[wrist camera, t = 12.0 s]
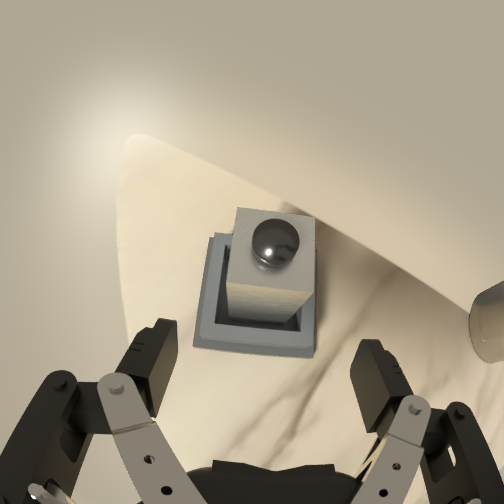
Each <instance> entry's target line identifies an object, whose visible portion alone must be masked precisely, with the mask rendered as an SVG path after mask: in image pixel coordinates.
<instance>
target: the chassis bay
mask: <svg viewBox="0 0 504 504" xmlns="http://www.w3.org/2000/svg"><path fill="white" fill-rule="evenodd" d="M232 239H233V234H224V233H215V235H214V238H212V237H210V238H209V244H208V249H207V255H206V261H205V267H204V273H203V279H202V286H201V292H200V298H199V305H198V312H197V319H196V326H195V333H194V340H193V347H194V348H201V349H208V350H216V351H224V352H232V353H242V354H251V355H262V356H274V357H289V358H306V359H311V358H313V354H314V336H315V314H316V277H317V249H316V244H315V267H314V292H313V294H312V295H311V296H310V297H309V298H308V299H307V300H306V301H305V302H304V304H303V305H302V306H301V307H300V308H299V309H298V310H297V311H296V312H295V313H294V314H293V316H292V317H291V318H290V319H289V320H288V321H287V322H286V323H285V324H284V325H283V326H281V325H271V324H262V323H253V322H244V321H236V320H229V311H228V299H227V288H226V279H227V272H228V265H229V259H230V252H231V245H232Z"/></svg>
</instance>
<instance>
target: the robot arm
mask: <svg viewBox="0 0 504 504" xmlns="http://www.w3.org/2000/svg"><path fill="white" fill-rule="evenodd" d="M469 328H470V336H471V340H472V344H473V346H474V349H475V351H476V352H477V354H478V356H479V357H480V358H481V359H482V360H483V361H485V362H487V363H495V362H499V361H504V281H502V282H500V283H499V284H497V285H495V286H493V287H491V288H489V289H487V290H485V291H483V292H481V293H480V294H479V295H478V296H477V297H476V298H475V300H474V302H473V304H472V308H471V311H470V319H469ZM177 354H178V339H177V322H176V321H175V320H169V319H163V318H158V320H157V322H156V323H155V325H154V327H153V328H148V327H145V328H144V329H143V330H141V331H140V332H138V333H137V335H136V336H135V338H134V340H133V342H132V343H131V345H130V346H129V349H128V350H127V352H126V353H125V355H124V357H123V359H122V360H121V362H120V364H119V366H118V367H117V369H116V371H115V372H114V373H110V374H107V375H105V376H103V377H102V378H101V379H100V380H99V382H77V379H76V377H75V376H74V375H73V374H72V373H71V372H68V371H65V370H59V371H54V372H52V373H50V374H49V375H48V376H47V377H46V378H45V380H44V381H43V383H42V384H41V386H40V387H39V389H38V391H37V392H36V394H35V395H34V397H33V399H32V400H31V402H30V403H29V405H28V407H27V408H26V410H25V412H24V414H23V415H22V417H21V419H20V421H19V422H18V424H17V426H16V427H15V429H14V431H13V433H12V435H11V436H10V438H9V440H8V442H7V444H6V446H5V448H4V450H3V452H2V454H1V455H0V504H76V503H75V502H74V501H73V500H72V499H71V495H72V492H73V489H74V486H75V483H76V480H77V478H78V475H79V472H80V469H81V466H82V463H83V461H84V458H85V455H86V453H87V450H88V447H89V445H90V442H91V440H92V437H93V435H94V434H112V435H113V438H114V441H115V443H116V446H117V448H118V451H119V453H120V455H121V458H122V460H123V462H124V465H125V467H126V469H127V471H128V473H129V475H130V478H131V480H132V482H133V484H134V486H135V487H136V489H137V491H138V494H139V496H140V497H141V499H142V501H141V502H139V503H137V504H403V501H404V499H405V497H406V495H407V493H408V490H409V488H410V486H411V484H412V481H413V479H414V476H415V474H416V471H417V469H418V466H419V463H420V467H421V471H422V474H423V478H424V482H425V486H426V490H427V494H428V498H429V502H430V504H504V484H503V481H502V479H501V476H500V473H499V470H498V468H497V465H496V463H495V461H494V458H493V456H492V453H491V451H490V449H489V447H488V444H487V442H486V440H485V438H484V436H483V433H482V431H481V429H480V427H479V425H478V423H477V421H476V419H475V417H474V415H473V413H472V411H471V409H470V408H469V407H468V406H467V405H466V404H464V403H462V402H452V403H450V404H449V406H448V407H447V408H446V410H442V409H434V408H431V407H430V405H429V403H428V402H427V401H426V400H425V399H424V398H422V397H420V396H416V395H414V394H413V392H412V390H411V388H410V386H409V384H408V382H407V379H406V377H405V375H404V374H403V372H402V370H401V368H400V367H399V364H398V362H397V360H396V358H395V357H394V356H393V355H392V354H391V353H390V352H389V351H388V350H384V348H383V346H382V344H381V342H380V341H379V340H378V339H362V340H361V342H360V344H359V347H358V349H357V352H356V354H355V357H354V359H353V362H352V364H351V368H350V378H351V381H352V384H353V387H354V391H355V394H356V397H357V400H358V404H359V407H360V411H361V414H362V417H363V421H364V424H365V428H366V431H367V433H373V432H377V435H378V436H377V438H376V439H375V441H374V443H373V444H372V446H371V448H370V450H369V452H368V453H367V455H366V457H365V459H364V460H363V462H362V464H361V465H360V467H359V469H358V470H357V471H356V473H355V474H354V476H353V477H352V476H350V475H347V474H344V473H340V472H336V471H335V467H334V464H325V465H305V466H300V467H296V468H291V469H287V470H282V471H271V470H267V469H263V468H259V467H255V466H252V465H248V464H245V463H236V462H227V461H219V460H213V464H212V467H205V468H199V469H195V470H192V471H189V472H185V470H184V469H183V467H182V466H181V464H180V463H179V461H178V459H177V458H176V456H175V454H174V453H173V451H172V449H171V448H170V446H169V444H168V442H167V441H166V439H165V437H164V435H163V434H162V432H161V430H160V428H159V426H158V425H157V423H156V422H155V421H153V420H152V419H151V417H154V418H156V417H157V414H158V411H159V408H160V405H161V402H162V399H163V397H164V394H165V391H166V388H167V385H168V383H169V380H170V377H171V374H172V371H173V369H174V366H175V363H176V360H177ZM450 446H451V447H452V450H453V453H454V455H455V458H456V464H455V466H453V463H452V460H451V457H450V454H449V452H448V448H449V447H450Z"/></svg>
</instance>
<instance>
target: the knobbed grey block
mask: <svg viewBox="0 0 504 504" xmlns="http://www.w3.org/2000/svg"><path fill="white" fill-rule="evenodd" d="M314 267H315V217H310V216H303V215H296V214H289V213H281V212H273V211H265V210H257V209H249V208H240V207H237V213H236V219H235V226H234V232H233V239H232V245H231V252H230V259H229V265H228V272H227V279H226V288H227V299H228V311H229V320H236V321H244V322H253V323H262V324H271V325H281V326H283V325H284V324H285V323H286V322H287V321H288V320H289V319H290V318H291V317H292V316H293V314H294V313H295V312H296V311H297V310H298V309H299V308H300V307H301V306H302V305H303V304H304V302H305V301H306V300H307V299H308V298H309V297H310V296H311V295H312V294H313V292H314Z"/></svg>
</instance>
